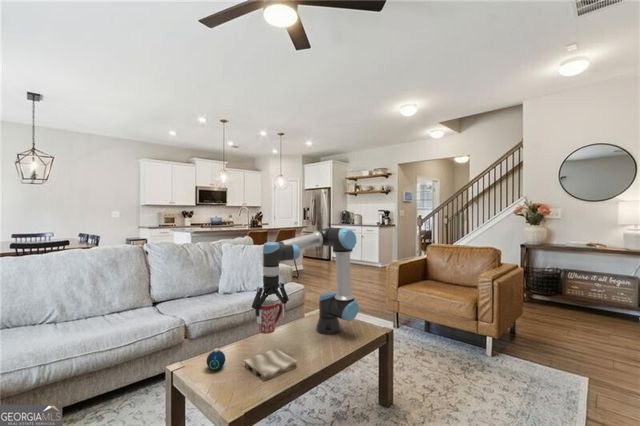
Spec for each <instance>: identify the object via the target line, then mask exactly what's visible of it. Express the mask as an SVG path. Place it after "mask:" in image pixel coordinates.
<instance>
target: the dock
mask: <svg viewBox="0 0 640 426" xmlns="http://www.w3.org/2000/svg"><path fill="white" fill-rule="evenodd" d="M297 364H298V360H296V359H294V358H293V357H291V356H289V355H287V354H285V353H284V352H282V351H280V350H279V349H277V348H273V349H270V350H268V351H265V352H262V353H260V354H257V355H253V356H251V357H249V358H246V359H244V367H245V368H246V369H248V370H249V369H252V373H253V374H254V375H255V376H257V375H260V379H261V380H262V381H263V382H266V381H268V380H270V379H273V378H276V377H278V376H280V375H282V374H284V373H286V372H289V371H290V370H293V369H295V368H297Z"/></svg>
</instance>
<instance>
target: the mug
mask: <svg viewBox="0 0 640 426" xmlns="http://www.w3.org/2000/svg"><path fill="white" fill-rule="evenodd" d="M277 308H279V309H278V312H277ZM260 309H261V324H259V323H258V328H259V329H258V330H259V333H261V334H264V335H265V334H272V333H274V332H275V330H276V324H277V322H278V321H279V319H280V317H281V316H280V315H281V312H282V306H281V304H280V302H278V301H275V300H273V299H265V301H264V303H263V304H262V305H261V308H260ZM276 312H277V313H276Z"/></svg>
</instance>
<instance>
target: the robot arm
mask: <svg viewBox="0 0 640 426" xmlns="http://www.w3.org/2000/svg"><path fill="white" fill-rule="evenodd" d="M356 245H357V236H356V234H355V232H354V231H353V230H352V229H351V228H346V227H334V226H333V227H326V228H321V229H318V230H314V231H313V232H312V233H308V234H305V235H301V236H297V237H291V238H288V239H285V240H281V241H277V242H275V241H272V242H271V241H268V242H265V243H264V244H263V248H262V256H263V258H262V262H263V263H262V264H263V267H262V269H263V272H262V274H263V276H262V283H263V286H261V287H260V286H257V288H256V294H255V297H254V299H253V302H252V305H251V309H253V310H255V313H254V314H255V317H256V322H257V323H258V325H259V324H261V309H260V308H261V305H262V304H263V303H264V301H265V300H267V297H269V296H272V295H276V297H277V299H278V300H280V302H279V304H281V306H282V312H281V315H280V317H281V318H285V310H286V304H287V303H288V302H289V299H290V298H289V297H288V293H287V292H286V289H285V283H282V282H280V276H279V274H280V262H285V261H295V260H298V259H299V258H300V255H301V251H302V250H305V249H310V248H313V247H317V248H320V247H331V248H332V252H333V253H334V254H335V273H336V275H335V277H336V291H330V292H329V291H328V292H322V293H321V294H320V295H319V300H318V305H319V307H318V309H319V312H318V314H319V315H318V316H319V318H318V320H317V324H316V327H315V328H316V332H317V333H320V334H322V335H336V334H338V333H340V332H341V330H342V328H341V323H340V320H343V321H348V322H351V321H353V320H354V319H355V318H356V317H357V315H358V314H359V310H360V305H359V303H358V302H357V301H356V300H355V295H354V294H353V293H352V272H351V271H352V269H351V253H353V250H354V248H355V247H356ZM279 290H280V291H279ZM339 319H340V320H339Z"/></svg>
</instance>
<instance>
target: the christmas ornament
mask: <svg viewBox="0 0 640 426" xmlns="http://www.w3.org/2000/svg"><path fill="white" fill-rule="evenodd" d="M225 362H226V354H225V353H224V352H223V351H222V350H219V348H218V347H217V348H216V347H215V348H214V349H213V351H211V352H209V354H208V355H207V357H206V366H207V367H208V368H209V369H210V370H213V371H217V370H219V369H222V367H223V366H224V365H225Z"/></svg>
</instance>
